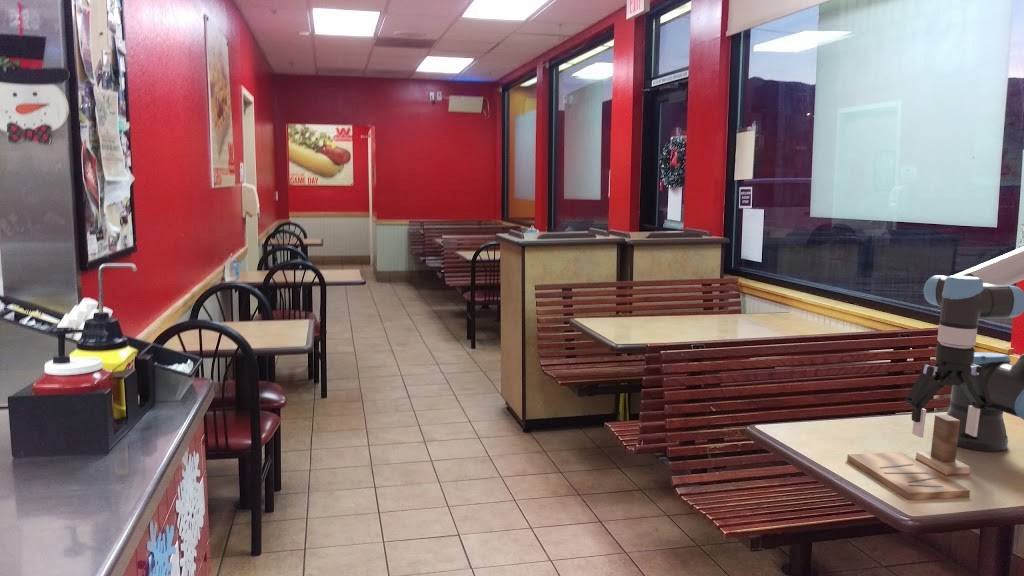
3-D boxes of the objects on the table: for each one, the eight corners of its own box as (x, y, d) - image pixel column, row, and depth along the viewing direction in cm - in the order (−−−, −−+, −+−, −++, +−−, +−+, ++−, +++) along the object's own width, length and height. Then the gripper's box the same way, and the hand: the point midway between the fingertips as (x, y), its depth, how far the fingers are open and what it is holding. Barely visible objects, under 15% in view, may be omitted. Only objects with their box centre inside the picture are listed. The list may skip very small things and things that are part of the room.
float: (938, 459, 184) (944, 410, 182) (969, 475, 174) (975, 424, 172) (915, 460, 183) (920, 411, 181) (945, 476, 173) (951, 425, 171)
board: (901, 458, 183) (902, 452, 183) (969, 497, 162) (970, 489, 161) (847, 460, 181) (847, 454, 181) (908, 499, 159) (909, 492, 159)
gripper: (992, 341, 179) (980, 428, 183) (894, 340, 176) (884, 430, 179) (1017, 348, 172) (1005, 439, 175) (916, 348, 168) (905, 441, 171)
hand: (944, 435), depth 177 cm, fingers open, 13 cm apart
